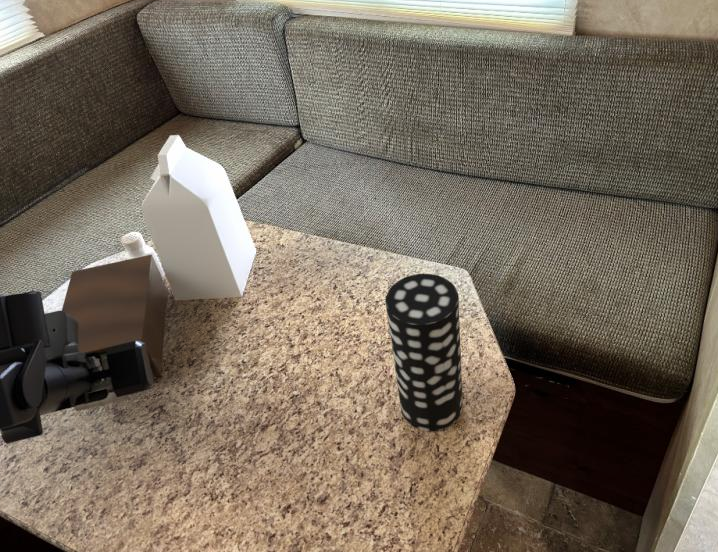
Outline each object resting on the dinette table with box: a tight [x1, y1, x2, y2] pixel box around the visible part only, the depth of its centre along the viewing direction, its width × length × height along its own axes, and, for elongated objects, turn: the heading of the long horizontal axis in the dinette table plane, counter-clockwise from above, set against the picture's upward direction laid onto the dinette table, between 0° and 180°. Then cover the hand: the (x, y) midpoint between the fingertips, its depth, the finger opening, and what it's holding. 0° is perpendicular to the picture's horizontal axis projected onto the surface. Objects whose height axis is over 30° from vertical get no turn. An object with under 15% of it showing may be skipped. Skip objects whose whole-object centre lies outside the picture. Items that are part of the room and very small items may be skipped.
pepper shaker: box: [121, 231, 166, 279], centre depth 104 cm, size 4×4×10 cm
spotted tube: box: [385, 273, 464, 432], centre depth 75 cm, size 8×8×20 cm
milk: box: [141, 134, 257, 301], centre depth 98 cm, size 12×12×26 cm
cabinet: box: [61, 255, 169, 379], centre depth 94 cm, size 20×13×8 cm, turn 14°
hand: (95, 377), depth 82 cm, fingers closed
